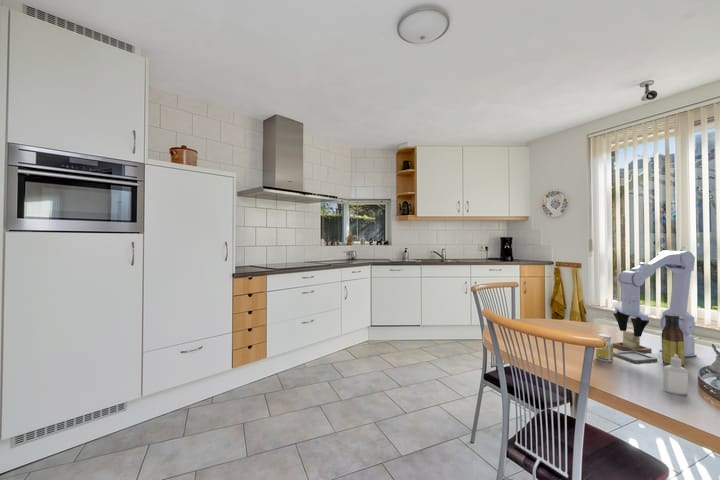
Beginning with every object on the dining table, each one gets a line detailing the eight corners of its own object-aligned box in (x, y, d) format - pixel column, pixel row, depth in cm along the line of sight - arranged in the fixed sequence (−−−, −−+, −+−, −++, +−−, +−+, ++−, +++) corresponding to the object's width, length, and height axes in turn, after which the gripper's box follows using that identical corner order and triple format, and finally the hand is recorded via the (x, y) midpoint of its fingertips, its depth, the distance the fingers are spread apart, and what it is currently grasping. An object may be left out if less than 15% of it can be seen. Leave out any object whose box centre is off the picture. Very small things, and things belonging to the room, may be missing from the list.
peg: (630, 347, 145) (630, 329, 145) (639, 350, 141) (639, 332, 141) (622, 347, 144) (623, 330, 144) (632, 351, 140) (632, 332, 140)
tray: (633, 353, 137) (633, 350, 137) (657, 361, 129) (657, 358, 129) (612, 355, 135) (612, 352, 135) (635, 363, 126) (635, 360, 126)
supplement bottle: (607, 357, 132) (607, 333, 132) (616, 362, 127) (616, 337, 127) (592, 356, 133) (593, 333, 133) (601, 361, 127) (601, 337, 127)
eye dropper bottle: (687, 397, 99) (688, 358, 99) (662, 391, 103) (663, 353, 103) (687, 392, 102) (688, 355, 102) (663, 387, 106) (664, 350, 106)
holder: (628, 344, 148) (628, 341, 148) (651, 352, 139) (651, 348, 139) (611, 346, 146) (611, 342, 146) (633, 353, 137) (633, 350, 137)
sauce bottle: (679, 365, 125) (681, 314, 125) (688, 371, 119) (689, 317, 119) (658, 362, 128) (659, 312, 128) (664, 367, 122) (666, 315, 122)
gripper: (607, 296, 139) (607, 328, 140) (635, 303, 125) (634, 338, 125) (624, 297, 139) (624, 328, 139) (653, 304, 125) (653, 339, 125)
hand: (630, 333), depth 132 cm, fingers open, 7 cm apart
